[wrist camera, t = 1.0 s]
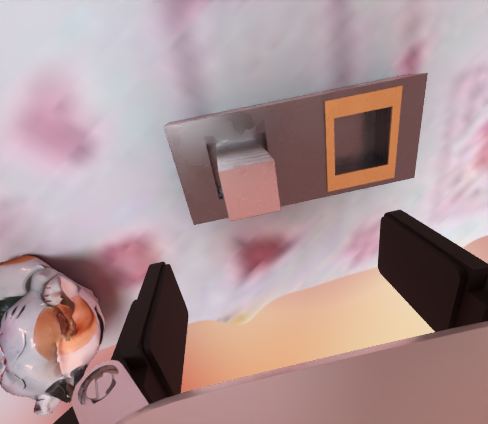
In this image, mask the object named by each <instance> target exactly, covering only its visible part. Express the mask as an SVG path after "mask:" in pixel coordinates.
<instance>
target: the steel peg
mask: <svg viewBox="0 0 488 424" xmlns="http://www.w3.org/2000/svg"><path fill="white" fill-rule="evenodd" d="M216 152H217V164H218V173H219V177H220V181H221V186H222V190H223V194H224V199H225V203H226V207H227V211H228V216H229V220H230V221H233V220H238V219H242V218H247V217H252V216H256V215H261V214H266V213H270V212H275V211H280V210H281V209H280V201H279V193H278V185H277V177H276V170H275V162H274V159H273V158H272V157H271V156H270V155H269V154H268V152H267V151H266V150H265V149H264V148H263V147H262V146H261V145H260V144H259V143H258V141H257V140H256V139H255V138H253V139H248V140H243V141H239V142H234V143H229V144H224V145H219V146H216Z"/></svg>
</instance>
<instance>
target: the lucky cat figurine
mask: <svg viewBox="0 0 488 424" xmlns="http://www.w3.org/2000/svg"><path fill="white" fill-rule="evenodd" d="M104 331H105V319H104V316H103V314H102V311H101V309H100V306H99V299H97V298H96V297H95V296H94V294H93V291H91V290H89V289H87V288H85V287H83V286H81V285H79V284H78V283H76V282H74V281H73V280H71V279H69V278H68V277H67V276H65V275H64V274H63V273H60V272H58V271H57V270H55V269H53V268H52V267H51V266H49V265H48V264H46V263H45V262H43V261H42V260H40V259H39V258H37V257H35V256H31V255H24V256H21V257H18V258H15V259H12V260H8V261H5V262H1V263H0V385H1V387H2V388H3V389H4V390H5V391H6V392H9V393H11V394H13V395H17V396H22V397H30V398H32V399H34V400H36V404H35V408H34V413H36V414H38V415H46V414H50V413H52V412H53V410H54V408H55V406H56V405H57V404H59V402H60V401H61V400H62V401H64V402H66V403H67V402H70V401H71V400H72V395H73V391H74V389H75V388H76V386H77V384H78V382H79V381H80V380H81V379H82V377H83V376H84V372H85V370H86V368H87V366H88V365H89V363H90V362H91V360H92V359H93V358H94V357H95V355H96V354H97V351H98V349H99V346H100V344H101V342H102V340H103V335H104Z"/></svg>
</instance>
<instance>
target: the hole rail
mask: <svg viewBox="0 0 488 424" xmlns="http://www.w3.org/2000/svg"><path fill="white" fill-rule="evenodd" d="M427 74H428V73H421V74H409V75H401V76H397V77H392V78H387V79H382V80H377V81H372V82H367V83H362V84H357V85H352V86H347V87H342V88H337V89H333V90H328V91H323V92H318V93H313V94H308V95H303V96H298V97H293V98H288V99H283V100H278V101H273V102H269V103H264V104H259V105H254V106H249V107H244V108H239V109H234V110H229V111H224V112H219V113H214V114H209V115H205V116H200V117H195V118H190V119H185V120H180V121H175V122H170V123H168V124H167V125H165V126H164V129H165V133H166V136H167V139H168V142H169V146H170V149H171V152H172V155H173V159H174V162H175V165H176V168H177V172H178V175H179V178H180V181H181V185H182V188H183V191H184V194H185V198H186V201H187V204H188V207H189V211H190V214H191V217H192V220H193V224H194V225H196V224H201V223H205V222H210V221H215V220H219V219H224V218H229V216H228V211H227V207H226V203H225V199H224V194H223V190H222V186H221V181H220V177H219V173H218V164H217V152H216V146H219V145H224V144H229V143H234V142H239V141H243V140H248V139H253V138H255V139H256V140H257V141H258V143H259V144H260V145H261V146H262V147H263V148H264V149H265V150H266V151H267V152H268V154H269V155H270V156H271V157H272V158H273V159H274V162H275V170H276V177H277V185H278V193H279V201H280V206H285V205H289V204H294V203H299V202H303V201H308V200H313V199H317V198H322V197H326V196H331V195H336V194H340V193H345V192H350V191H354V190H359V189H364V188H368V187H373V186H378V185H382V184H387V183H392V182H396V181H401V180H406V179H410V178H414V175H415V167H416V159H417V152H418V144H419V136H420V128H421V120H422V113H423V105H424V97H425V89H426V81H427Z"/></svg>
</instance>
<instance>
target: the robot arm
mask: <svg viewBox="0 0 488 424" xmlns="http://www.w3.org/2000/svg"><path fill="white" fill-rule="evenodd" d="M378 269H379V271H380V273H381V274H382V275H383V277H384V278H385V279H386V280H387V281H388V282H389V283H390V284H391V285H392V286H393V287H394V288H395V289H396V290H397V292H398V293H400V295H401V296H402V297H403V298H404V299H405V300H406V301H407V302H408V303H409V304H410V305H411V306H412V308H414V310H415V311H416V312H417V313H418V314H419V315H420V316H421V317H422V318H423V319H424V320H425V321H426V322H427V324H428V325H429V326H430V327H431V328H432V329H433V330H434V331H435V332H434V333H430V334H425V335H421V336H416V337H412V338H408V339H403V340H399V341H394V342H390V343H386V344H382V345H377V346H373V347H368V348H364V349H360V350H356V351H351V352H347V353H343V354H339V355H335V356H330V357H326V358H322V359H317V360H313V361H309V362H305V363H300V364H296V365H292V366H288V367H284V368H279V369H275V370H271V371H267V372H263V373H259V374H254V375H251V376H246V377H242V378H238V379H234V380H230V381H226V382H222V383H218V384H214V385H210V386H206V387H203V388H199V389H195V390H191V391H187V392H184V393H181V384H182V374H183V364H184V354H185V344H186V335H187V325H188V310H187V307H186V305H185V302H184V300H183V297H182V294H181V292H180V289H179V287H178V284H177V281H176V279H175V276H174V274H173V271H172V269H171V266H170V265H169V264H167V265H166V264H165V263H164V262H160V263H155V264H151V265H150V266H149V268H148V271H147V273H146V276H145V279H144V282H143V285H142V287H141V290H140V293H139V296H138V299H137V300H135V301H133V303H132V305H131V308H130V310H129V313H128V316H127V318H126V321H125V324H124V326H123V329H122V332H121V334H120V337H119V340H118V342H117V345H116V348H115V350H114V353H113V356H112V358H111V360H110V361H105V362H103V363H100V364H98V365H96V366H95V367H93V368H92V369H90V370H89V371H88V372H87V373H86V374H85V375H84V376H83V377H82V379H81V380H80V381H79V382H78V384H77V386H76V388H75V389H74V391H73V395H72V407H71V408H70V409H69V410H68V411H67V412H66V413H64V414H63V415H62V416H61V417H60V418H59V419H58V420H57V421H56V422H55V423H54V424H488V264H487V263H485V262H484V261H482V260H481V259H479V258H478V257H476V256H474V255H473V254H471V253H470V252H468V251H466V250H465V249H463V248H461V247H460V246H458V245H457V244H455V243H453V242H452V241H450V240H449V239H447V238H445V237H444V236H442V235H441V234H439V233H437V232H436V231H434V230H432V229H431V228H429V227H428V226H426V225H424V224H423V223H421V222H420V221H418V220H416V219H415V218H413V217H412V216H410V215H408V214H407V213H405V212H403V211H402V210H396V211H392V212H387V213H385V215H384V217H382V218H381V226H380V241H379V256H378Z"/></svg>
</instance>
